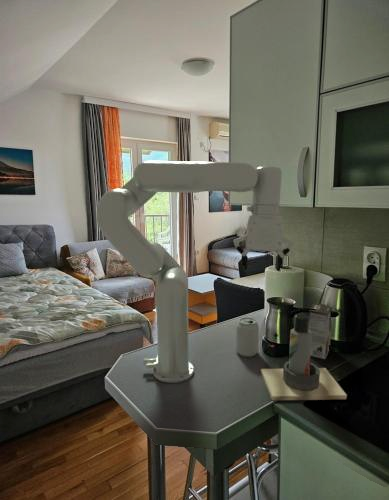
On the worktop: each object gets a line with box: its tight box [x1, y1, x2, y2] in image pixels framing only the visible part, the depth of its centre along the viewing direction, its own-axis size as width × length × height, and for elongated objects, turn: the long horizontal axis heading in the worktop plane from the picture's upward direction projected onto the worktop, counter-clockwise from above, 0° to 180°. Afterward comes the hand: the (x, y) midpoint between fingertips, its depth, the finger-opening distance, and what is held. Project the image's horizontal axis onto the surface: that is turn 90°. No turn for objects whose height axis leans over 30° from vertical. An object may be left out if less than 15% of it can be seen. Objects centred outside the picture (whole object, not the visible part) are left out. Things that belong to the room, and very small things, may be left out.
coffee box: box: [308, 302, 333, 360], centre depth 113 cm, size 9×6×16 cm
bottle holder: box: [260, 360, 348, 401], centre depth 94 cm, size 20×14×5 cm
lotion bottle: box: [288, 312, 312, 376], centre depth 93 cm, size 6×6×20 cm
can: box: [235, 316, 260, 358], centre depth 113 cm, size 8×8×12 cm
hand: (261, 269), depth 97 cm, fingers open, 9 cm apart
